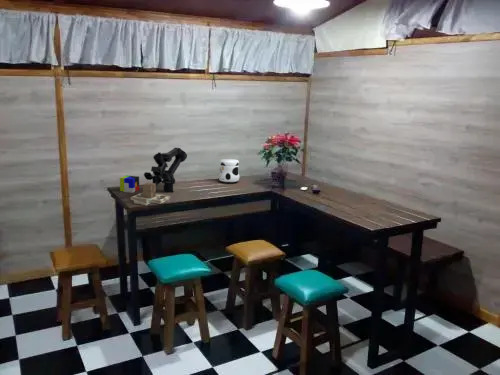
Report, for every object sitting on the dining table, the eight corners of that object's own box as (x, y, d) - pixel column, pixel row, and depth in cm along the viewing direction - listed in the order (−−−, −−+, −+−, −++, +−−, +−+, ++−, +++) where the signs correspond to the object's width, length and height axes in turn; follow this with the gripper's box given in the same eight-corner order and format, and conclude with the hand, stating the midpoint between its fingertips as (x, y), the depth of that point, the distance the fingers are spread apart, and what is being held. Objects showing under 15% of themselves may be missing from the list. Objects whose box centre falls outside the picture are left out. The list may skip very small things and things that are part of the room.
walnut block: (147, 195, 297) (147, 182, 295) (155, 196, 295) (155, 183, 293) (143, 197, 291) (142, 184, 289) (151, 198, 290) (151, 185, 288)
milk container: (214, 181, 360) (214, 159, 356) (230, 178, 372) (230, 158, 368) (227, 185, 348) (228, 162, 344) (243, 182, 359) (244, 161, 356)
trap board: (143, 194, 307) (143, 189, 307) (172, 197, 301) (172, 192, 300) (125, 202, 285) (125, 196, 285) (155, 206, 279) (155, 200, 278)
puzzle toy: (133, 192, 312) (132, 179, 310) (120, 191, 314) (119, 177, 311) (139, 189, 321) (139, 176, 319) (126, 188, 323) (126, 175, 321)
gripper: (144, 160, 301) (136, 179, 293) (169, 162, 296) (161, 181, 288) (150, 170, 310) (142, 188, 302) (174, 172, 305) (167, 191, 297)
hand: (153, 187), depth 297 cm, fingers closed
